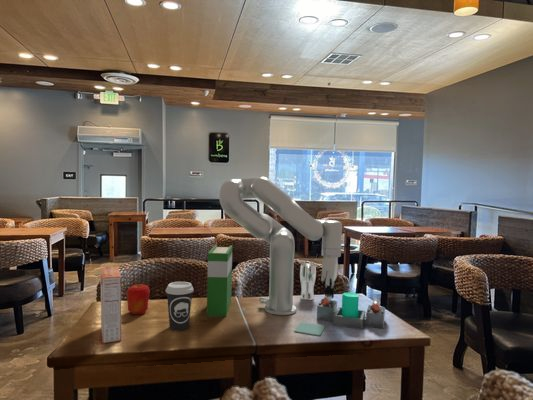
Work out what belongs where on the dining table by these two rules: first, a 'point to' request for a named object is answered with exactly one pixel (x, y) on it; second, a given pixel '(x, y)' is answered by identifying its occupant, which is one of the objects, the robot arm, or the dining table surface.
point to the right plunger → (375, 306)
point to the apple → (138, 298)
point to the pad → (309, 328)
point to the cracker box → (110, 304)
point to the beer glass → (307, 280)
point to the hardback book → (219, 281)
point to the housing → (336, 316)
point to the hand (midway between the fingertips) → (329, 297)
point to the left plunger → (326, 300)
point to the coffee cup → (179, 304)
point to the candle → (350, 304)
